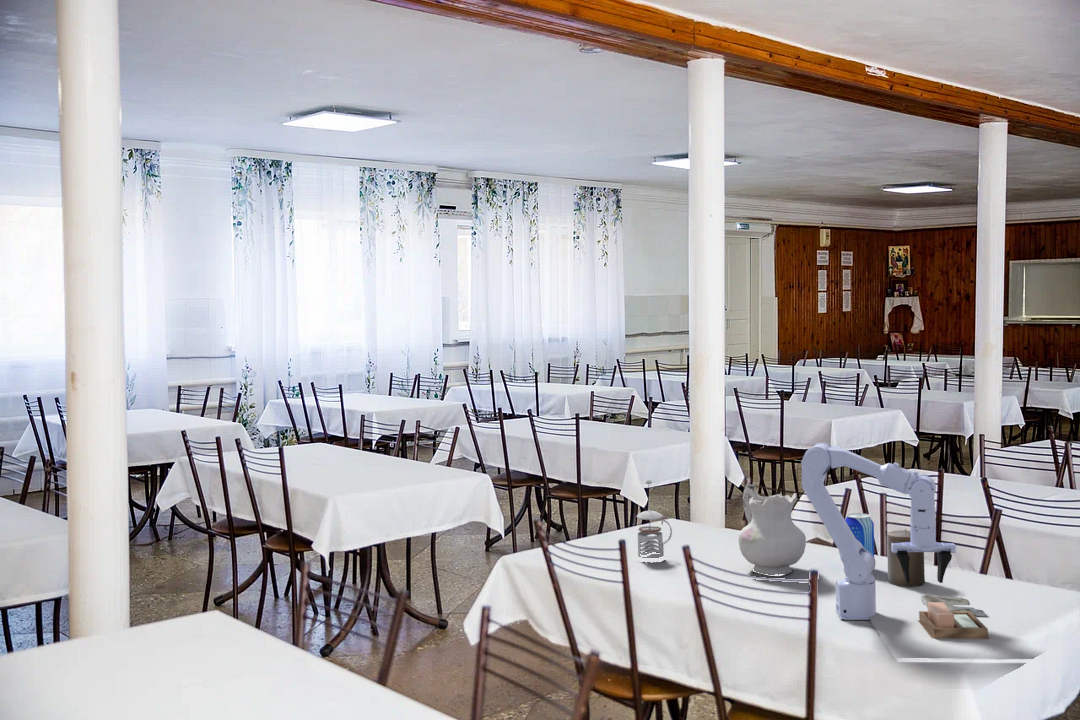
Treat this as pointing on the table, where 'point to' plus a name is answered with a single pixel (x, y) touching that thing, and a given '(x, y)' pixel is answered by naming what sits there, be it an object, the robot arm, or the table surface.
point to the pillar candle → (895, 567)
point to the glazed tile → (964, 621)
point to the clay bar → (940, 615)
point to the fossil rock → (950, 602)
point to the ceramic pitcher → (770, 533)
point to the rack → (957, 630)
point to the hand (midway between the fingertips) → (923, 581)
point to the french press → (649, 530)
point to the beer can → (862, 529)
